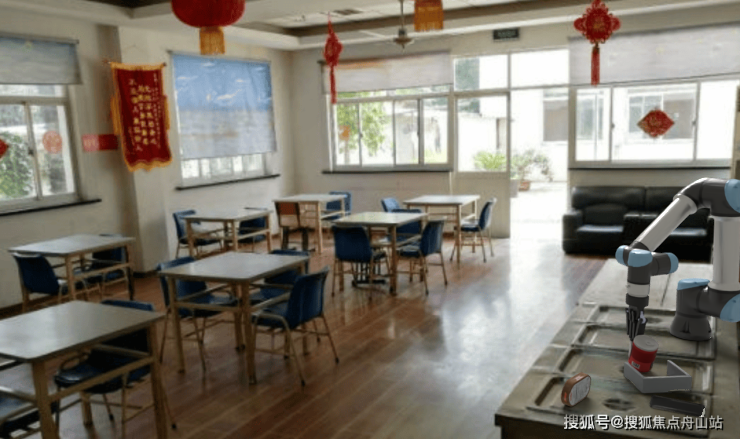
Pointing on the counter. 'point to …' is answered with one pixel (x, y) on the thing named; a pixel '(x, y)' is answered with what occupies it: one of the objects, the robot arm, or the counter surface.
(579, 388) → the tin
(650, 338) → the canned food
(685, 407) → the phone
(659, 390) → the box
